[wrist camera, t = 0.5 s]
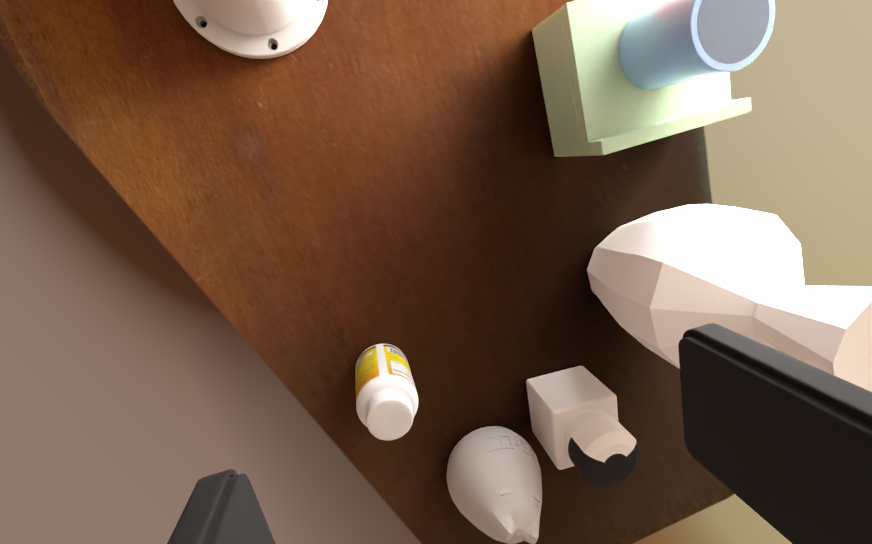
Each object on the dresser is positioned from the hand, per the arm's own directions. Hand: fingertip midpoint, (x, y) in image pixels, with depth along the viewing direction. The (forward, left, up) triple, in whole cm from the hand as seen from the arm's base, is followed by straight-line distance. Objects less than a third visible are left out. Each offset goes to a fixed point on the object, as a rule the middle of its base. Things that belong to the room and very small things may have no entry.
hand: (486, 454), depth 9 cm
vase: (+11, +25, -35) cm, 45 cm away
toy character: (+29, +4, -35) cm, 46 cm away
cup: (-9, +26, -28) cm, 39 cm away
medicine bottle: (+25, +14, -35) cm, 46 cm away
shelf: (-8, +26, -35) cm, 44 cm away
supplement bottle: (+14, -4, -35) cm, 38 cm away
